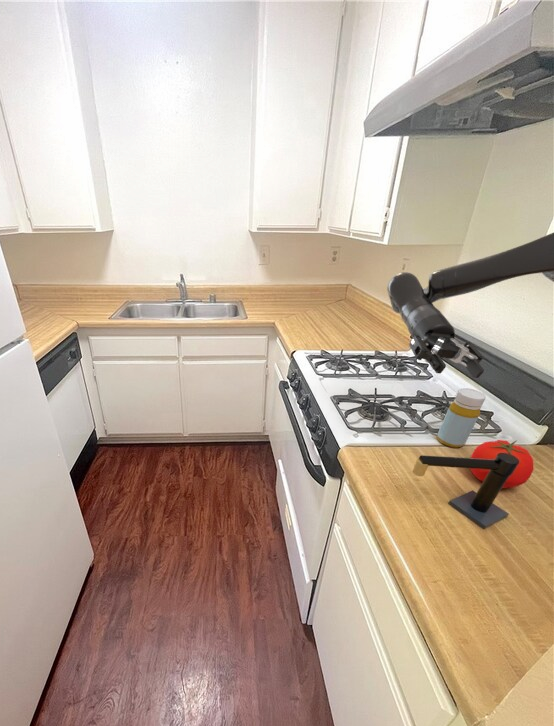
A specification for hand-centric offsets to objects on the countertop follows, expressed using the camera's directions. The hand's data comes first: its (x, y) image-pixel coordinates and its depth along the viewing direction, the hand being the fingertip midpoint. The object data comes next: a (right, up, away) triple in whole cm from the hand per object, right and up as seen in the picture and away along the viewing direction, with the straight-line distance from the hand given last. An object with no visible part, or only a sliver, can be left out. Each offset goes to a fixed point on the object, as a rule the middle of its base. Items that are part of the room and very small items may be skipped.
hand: (460, 372), depth 70 cm
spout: (-1, -21, 0) cm, 21 cm away
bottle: (+15, -15, +27) cm, 34 cm away
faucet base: (+7, -29, +5) cm, 30 cm away
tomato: (+16, -24, +13) cm, 32 cm away
